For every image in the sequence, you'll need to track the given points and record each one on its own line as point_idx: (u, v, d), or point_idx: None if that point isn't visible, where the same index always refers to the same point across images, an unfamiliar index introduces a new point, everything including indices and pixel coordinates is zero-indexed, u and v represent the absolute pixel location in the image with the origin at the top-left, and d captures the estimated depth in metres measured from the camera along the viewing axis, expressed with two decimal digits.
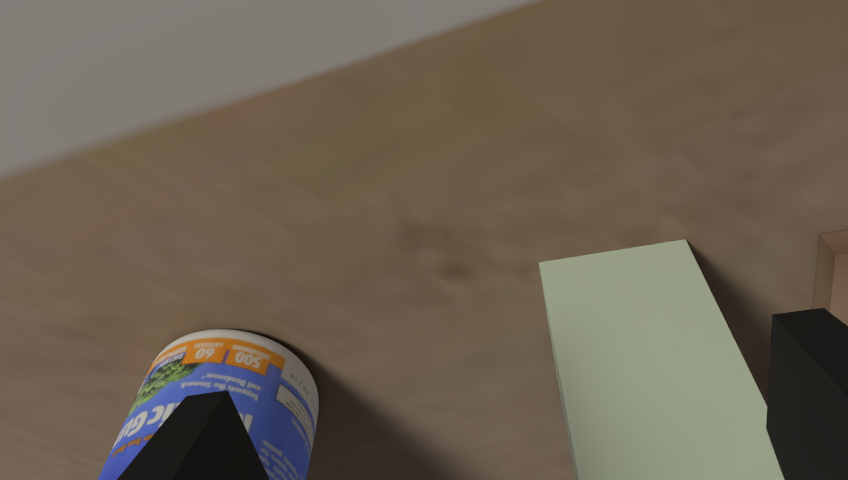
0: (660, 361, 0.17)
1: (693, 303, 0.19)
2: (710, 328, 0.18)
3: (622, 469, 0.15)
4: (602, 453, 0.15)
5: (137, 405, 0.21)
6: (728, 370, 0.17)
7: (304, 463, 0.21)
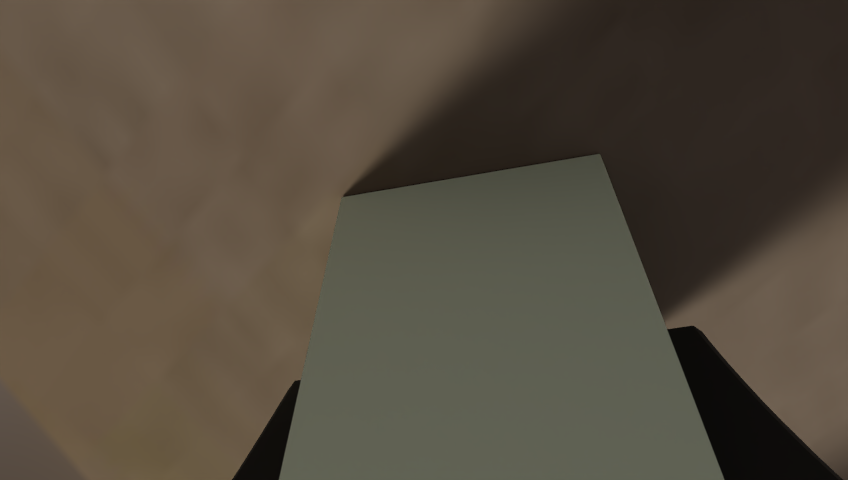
0: None
1: None
2: None
3: None
4: None
5: None
6: None
7: None
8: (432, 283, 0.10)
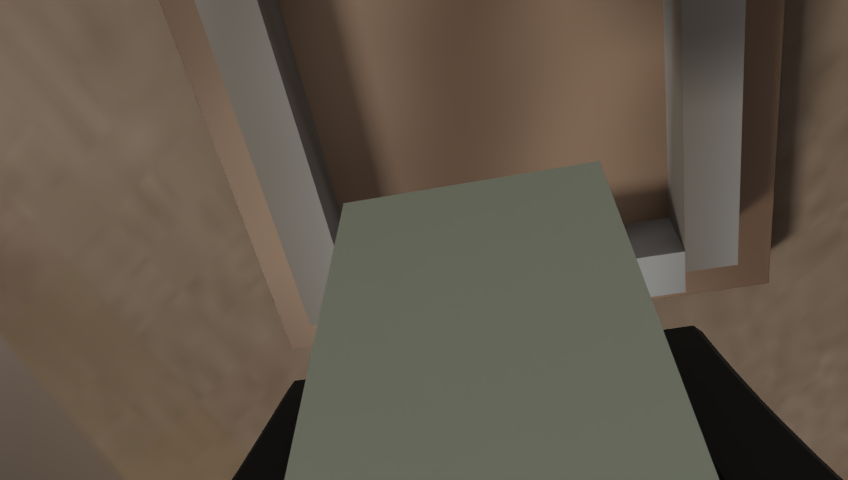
0: None
1: None
2: None
3: None
4: None
5: None
6: None
7: None
8: (434, 289, 0.10)
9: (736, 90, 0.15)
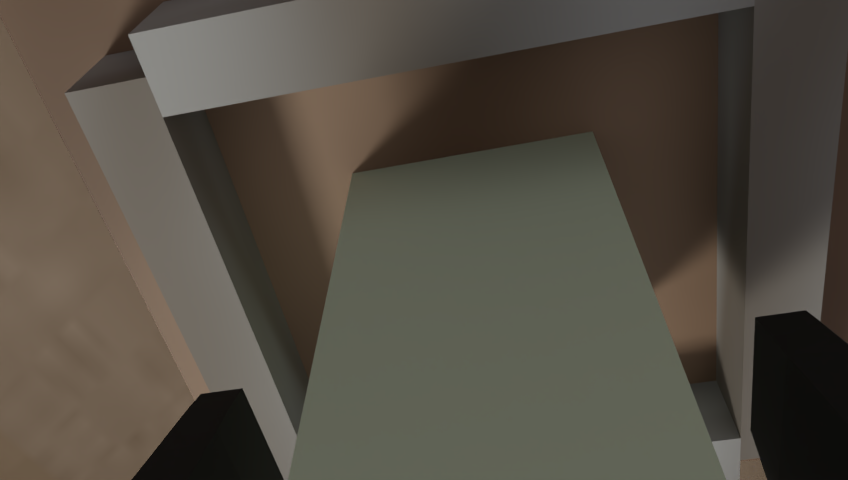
0: None
1: None
2: None
3: None
4: None
5: None
6: None
7: None
8: (438, 246, 0.10)
9: (818, 260, 0.12)
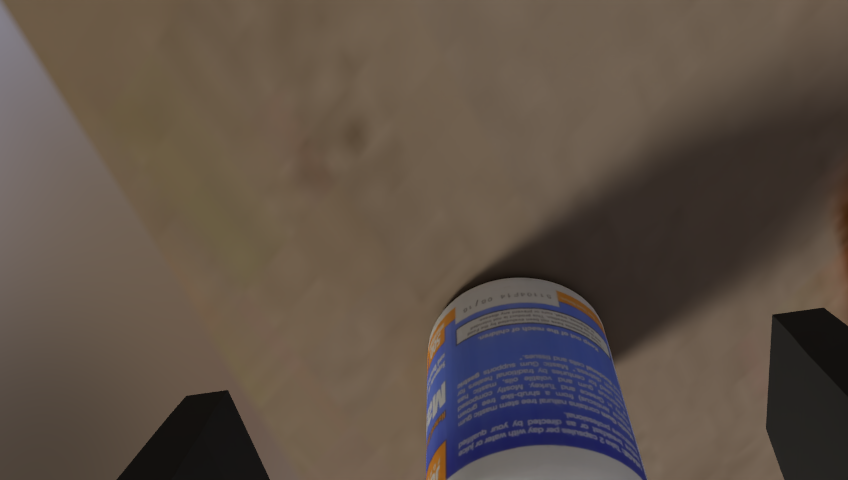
0: None
1: None
2: None
3: None
4: None
5: None
6: None
7: (523, 344, 0.19)
8: None
9: None
